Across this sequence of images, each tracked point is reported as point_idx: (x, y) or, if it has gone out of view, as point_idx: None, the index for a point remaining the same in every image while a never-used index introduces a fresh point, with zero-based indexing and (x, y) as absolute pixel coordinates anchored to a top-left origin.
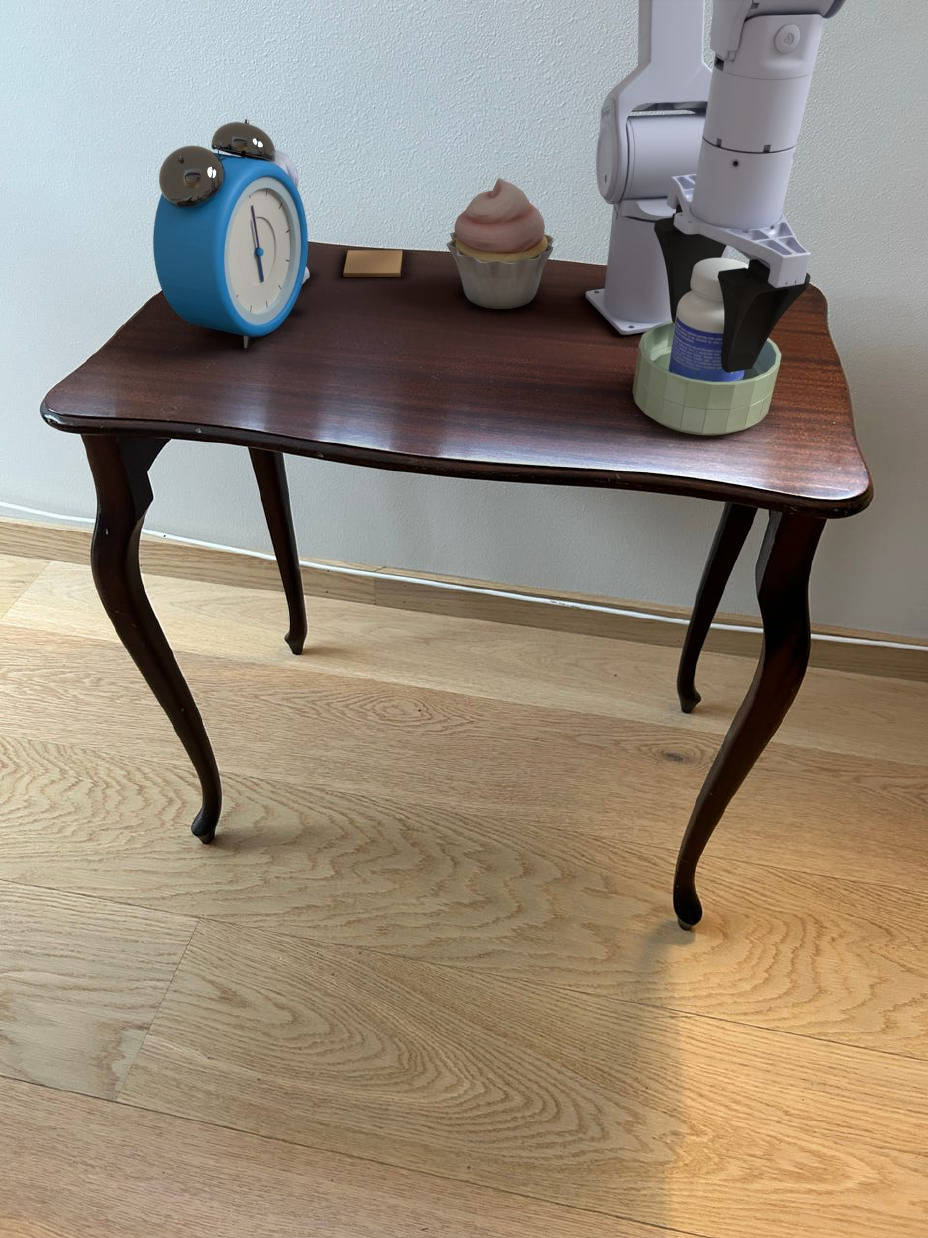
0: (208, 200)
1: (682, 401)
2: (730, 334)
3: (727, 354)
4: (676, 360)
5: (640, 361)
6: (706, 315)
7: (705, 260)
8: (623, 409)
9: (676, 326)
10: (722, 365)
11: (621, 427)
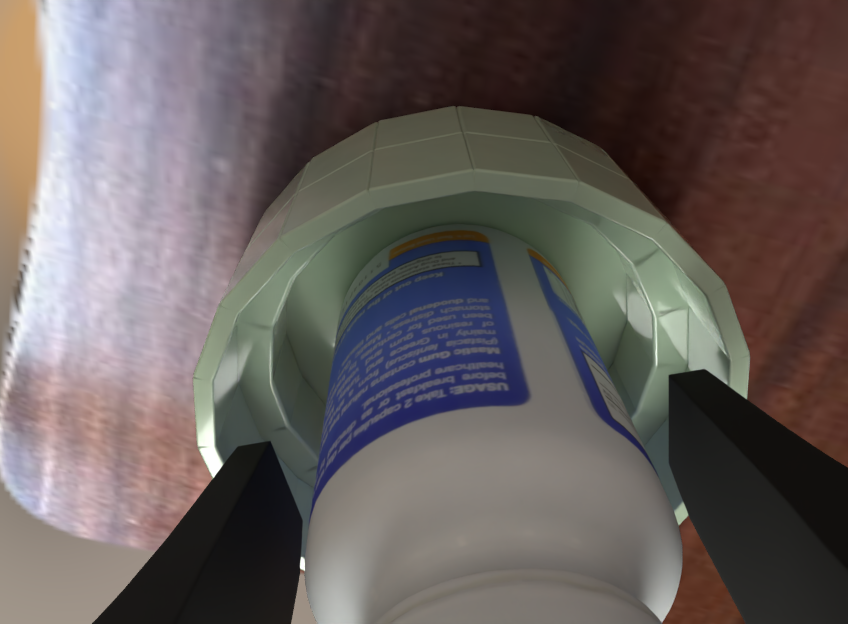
0: None
1: (244, 253)
2: (133, 579)
3: (198, 498)
4: (430, 303)
5: (477, 156)
6: (351, 537)
7: None
8: (468, 59)
9: (495, 375)
10: (258, 449)
11: (344, 18)
